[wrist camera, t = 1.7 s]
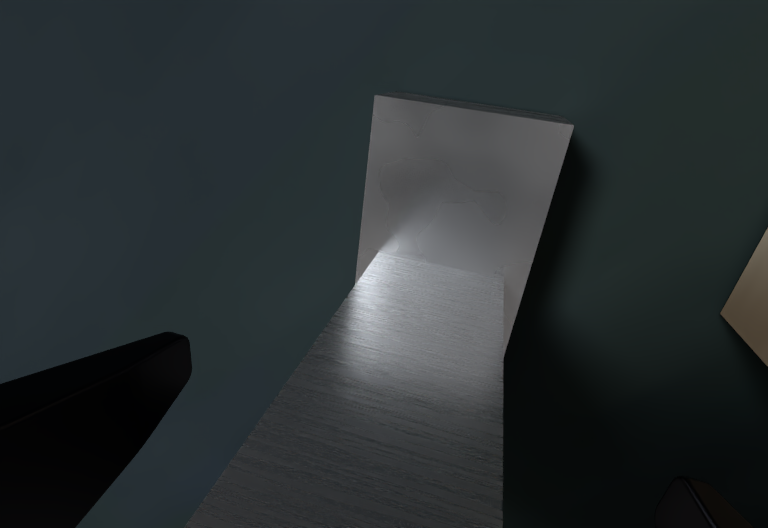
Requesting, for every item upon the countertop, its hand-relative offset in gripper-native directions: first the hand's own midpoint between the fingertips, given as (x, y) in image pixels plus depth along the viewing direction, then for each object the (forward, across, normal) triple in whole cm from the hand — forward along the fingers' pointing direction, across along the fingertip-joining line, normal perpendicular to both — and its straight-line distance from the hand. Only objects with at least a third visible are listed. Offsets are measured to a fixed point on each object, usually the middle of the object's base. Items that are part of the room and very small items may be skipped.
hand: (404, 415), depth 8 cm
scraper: (+5, 0, 0) cm, 5 cm away
